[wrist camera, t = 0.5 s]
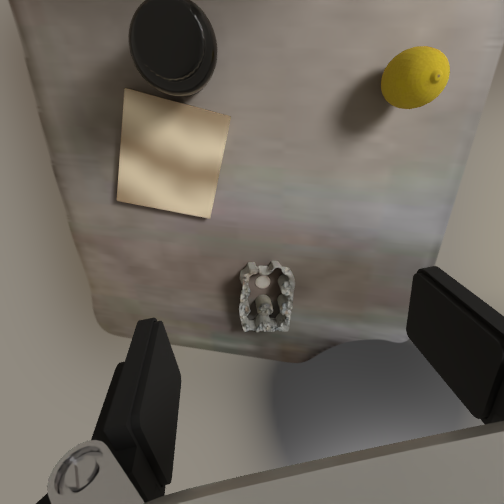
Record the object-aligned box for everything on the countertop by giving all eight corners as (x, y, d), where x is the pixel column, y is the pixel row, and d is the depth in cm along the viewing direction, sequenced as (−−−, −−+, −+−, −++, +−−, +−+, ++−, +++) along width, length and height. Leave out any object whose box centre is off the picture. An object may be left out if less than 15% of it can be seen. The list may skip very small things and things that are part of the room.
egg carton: (238, 259, 43) (241, 273, 39) (291, 258, 44) (298, 272, 40) (236, 320, 47) (239, 338, 44) (284, 318, 48) (290, 336, 45)
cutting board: (126, 88, 32) (124, 88, 31) (230, 116, 34) (230, 116, 33) (118, 198, 37) (116, 200, 36) (209, 215, 39) (210, 218, 38)
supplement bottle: (152, 97, 33) (125, 96, 22) (140, 18, 29) (102, -28, 19) (217, 95, 33) (222, 94, 23) (212, 17, 30) (214, -27, 20)
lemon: (424, 66, 35) (480, 57, 27) (397, 115, 37) (442, 119, 29) (385, 42, 33) (434, 26, 26) (359, 95, 35) (397, 94, 28)
